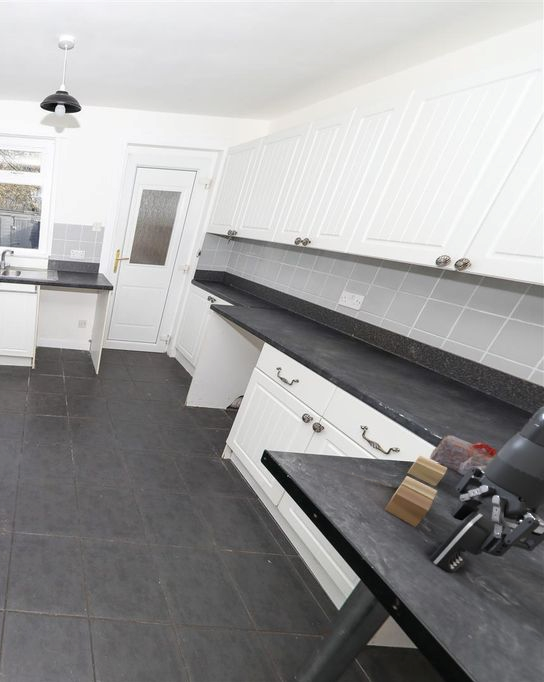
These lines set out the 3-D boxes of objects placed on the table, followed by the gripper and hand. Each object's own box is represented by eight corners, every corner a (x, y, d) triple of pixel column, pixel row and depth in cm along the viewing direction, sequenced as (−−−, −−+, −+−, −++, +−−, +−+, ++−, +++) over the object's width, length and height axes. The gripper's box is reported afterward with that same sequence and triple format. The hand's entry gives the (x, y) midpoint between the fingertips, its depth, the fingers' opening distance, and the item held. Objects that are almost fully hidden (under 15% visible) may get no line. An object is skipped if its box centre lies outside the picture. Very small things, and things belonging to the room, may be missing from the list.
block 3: (390, 500, 78) (401, 485, 76) (420, 517, 74) (433, 501, 72) (384, 509, 75) (396, 493, 73) (415, 527, 71) (428, 510, 69)
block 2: (396, 491, 81) (407, 475, 79) (425, 506, 77) (437, 490, 75) (390, 499, 78) (402, 483, 76) (421, 515, 74) (433, 499, 72)
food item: (505, 487, 86) (532, 458, 82) (501, 499, 82) (529, 468, 78) (430, 454, 96) (450, 426, 93) (423, 462, 92) (444, 434, 89)
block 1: (409, 469, 89) (419, 455, 87) (436, 482, 85) (447, 467, 83) (404, 476, 86) (415, 461, 84) (432, 490, 82) (444, 474, 81)
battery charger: (455, 580, 61) (496, 538, 56) (426, 560, 64) (463, 519, 59) (469, 566, 64) (508, 525, 59) (441, 548, 67) (476, 508, 62)
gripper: (616, 508, 47) (535, 581, 54) (530, 448, 59) (472, 513, 66) (540, 487, 50) (472, 559, 56) (472, 434, 62) (422, 498, 68)
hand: (472, 534), depth 61 cm, fingers closed on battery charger, 7 cm apart
